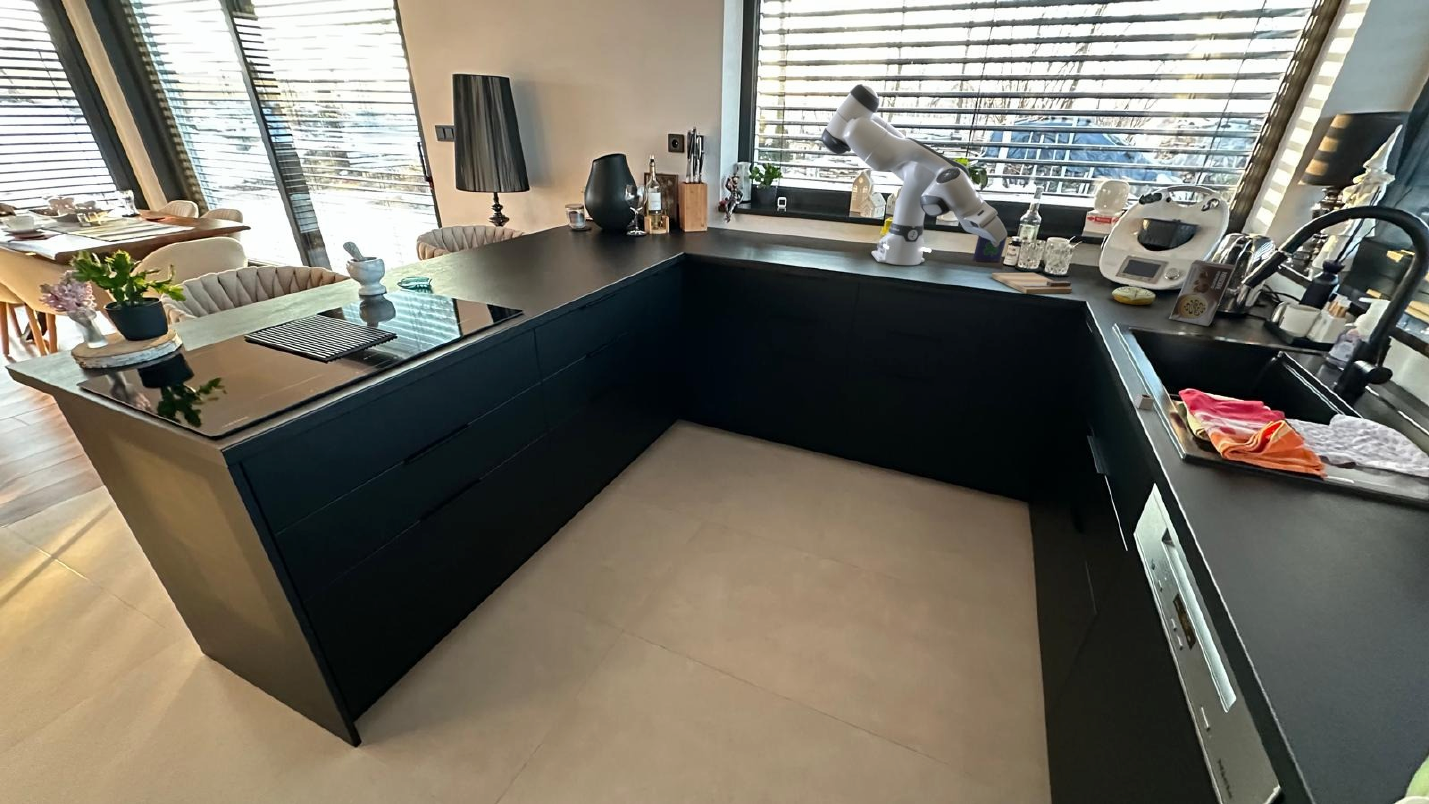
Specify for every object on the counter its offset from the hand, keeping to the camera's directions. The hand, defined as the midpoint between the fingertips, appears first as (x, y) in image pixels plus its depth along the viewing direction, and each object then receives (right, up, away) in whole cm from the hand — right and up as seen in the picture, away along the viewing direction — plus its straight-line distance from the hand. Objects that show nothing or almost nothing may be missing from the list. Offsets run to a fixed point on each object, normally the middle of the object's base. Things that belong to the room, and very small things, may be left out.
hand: (992, 243), depth 182 cm
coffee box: (+44, -29, -23) cm, 58 cm away
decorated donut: (+39, -21, -8) cm, 45 cm away
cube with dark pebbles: (-7, -53, -72) cm, 90 cm away
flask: (-1, -5, +3) cm, 6 cm away
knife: (+17, -14, +1) cm, 22 cm away
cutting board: (+16, -12, +7) cm, 21 cm away
